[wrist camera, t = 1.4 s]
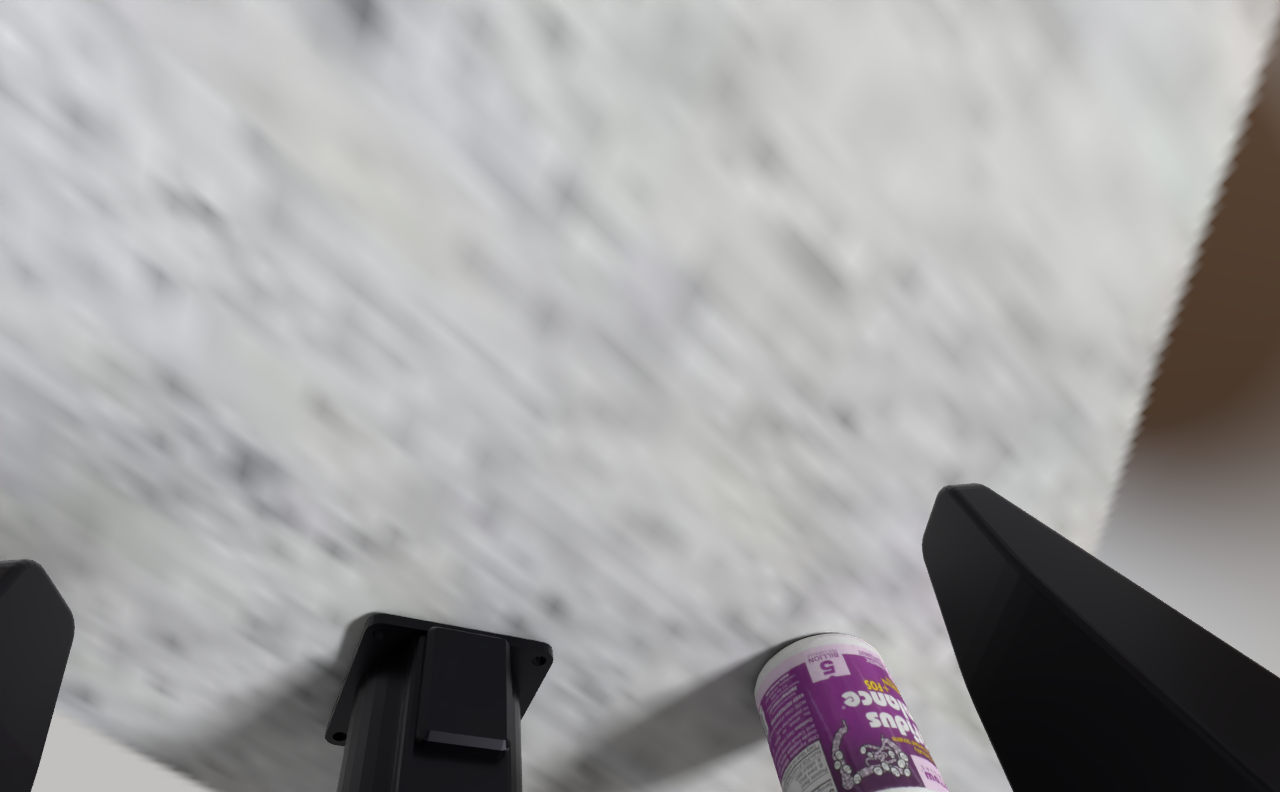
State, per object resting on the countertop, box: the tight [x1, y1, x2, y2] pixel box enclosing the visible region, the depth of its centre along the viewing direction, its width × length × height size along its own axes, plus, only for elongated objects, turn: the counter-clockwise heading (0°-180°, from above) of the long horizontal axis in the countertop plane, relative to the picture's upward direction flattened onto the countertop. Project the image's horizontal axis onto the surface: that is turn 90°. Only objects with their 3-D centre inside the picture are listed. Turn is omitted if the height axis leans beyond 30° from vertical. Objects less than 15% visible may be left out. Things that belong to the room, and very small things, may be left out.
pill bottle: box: [754, 633, 949, 792], centre depth 27 cm, size 5×5×10 cm
